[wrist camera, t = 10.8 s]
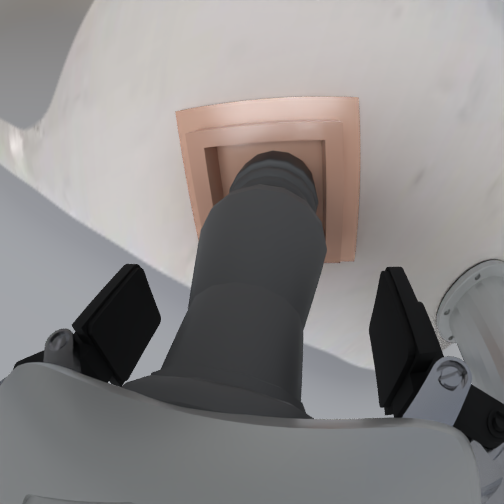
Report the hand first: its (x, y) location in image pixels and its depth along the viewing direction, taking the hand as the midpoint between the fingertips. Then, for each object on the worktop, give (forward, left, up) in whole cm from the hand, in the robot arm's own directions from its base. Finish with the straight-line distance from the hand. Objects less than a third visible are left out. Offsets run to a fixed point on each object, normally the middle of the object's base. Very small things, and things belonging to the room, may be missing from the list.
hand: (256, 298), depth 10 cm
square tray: (+1, 0, -14) cm, 14 cm away
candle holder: (0, 0, -13) cm, 13 cm away
